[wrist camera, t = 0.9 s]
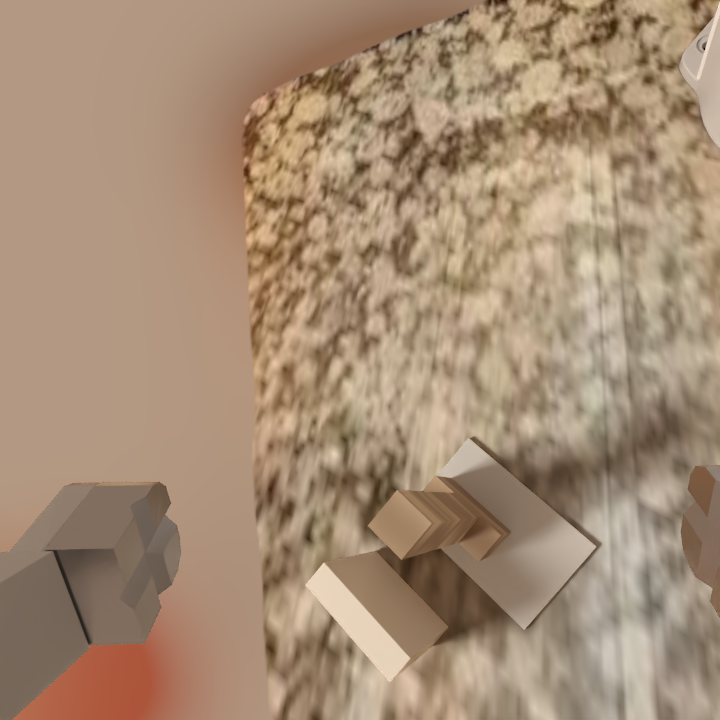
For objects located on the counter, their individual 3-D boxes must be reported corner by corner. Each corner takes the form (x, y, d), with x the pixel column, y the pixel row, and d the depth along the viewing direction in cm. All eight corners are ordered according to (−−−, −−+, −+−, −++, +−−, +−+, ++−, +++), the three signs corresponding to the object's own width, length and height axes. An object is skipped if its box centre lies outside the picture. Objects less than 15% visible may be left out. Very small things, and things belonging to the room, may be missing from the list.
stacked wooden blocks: (451, 477, 48) (372, 466, 31) (511, 531, 45) (459, 549, 29) (432, 500, 48) (344, 501, 32) (490, 555, 45) (427, 587, 29)
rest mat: (469, 438, 48) (468, 437, 48) (596, 546, 43) (596, 546, 43) (406, 513, 49) (405, 513, 48) (525, 628, 44) (524, 630, 43)
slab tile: (375, 550, 49) (323, 562, 40) (448, 626, 46) (410, 658, 37) (359, 570, 49) (303, 586, 40) (430, 647, 46) (388, 684, 37)
